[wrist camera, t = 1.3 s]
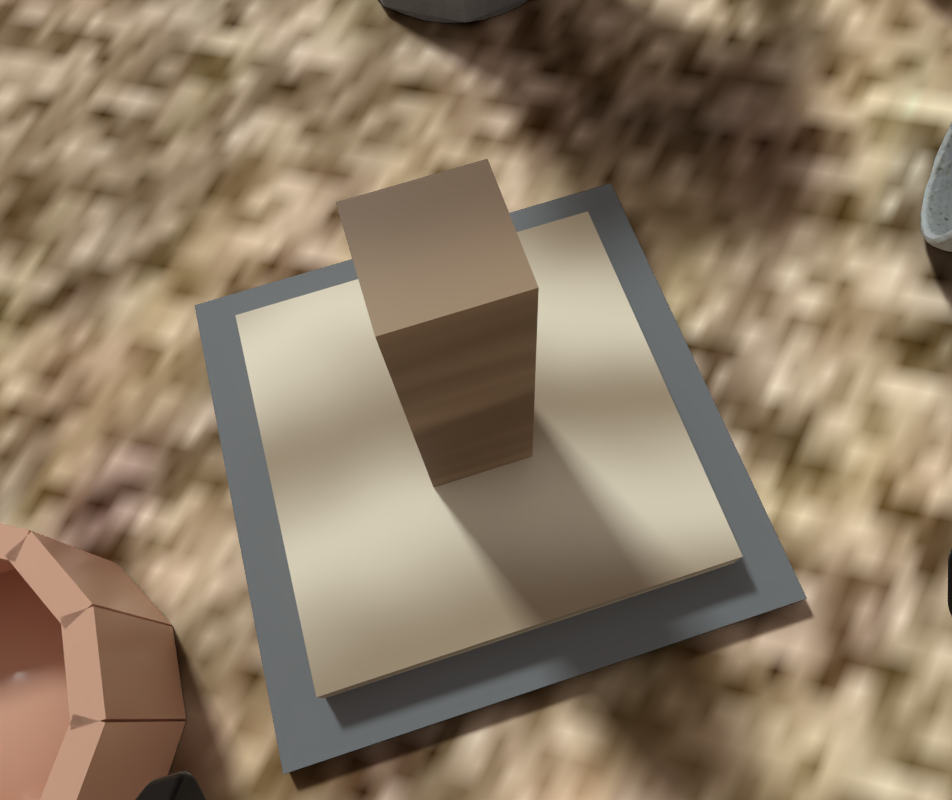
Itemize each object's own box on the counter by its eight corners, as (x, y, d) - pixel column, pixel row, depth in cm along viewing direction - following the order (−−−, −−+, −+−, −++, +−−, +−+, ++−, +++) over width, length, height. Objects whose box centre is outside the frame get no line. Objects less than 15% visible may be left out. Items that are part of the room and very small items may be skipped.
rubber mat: (800, 601, 22) (806, 598, 21) (288, 772, 21) (283, 774, 20) (609, 192, 28) (610, 183, 27) (200, 312, 27) (194, 305, 26)
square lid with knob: (733, 563, 22) (902, 440, 12) (325, 698, 21) (156, 681, 11) (585, 228, 26) (622, -55, 17) (245, 329, 26) (77, 93, 16)
